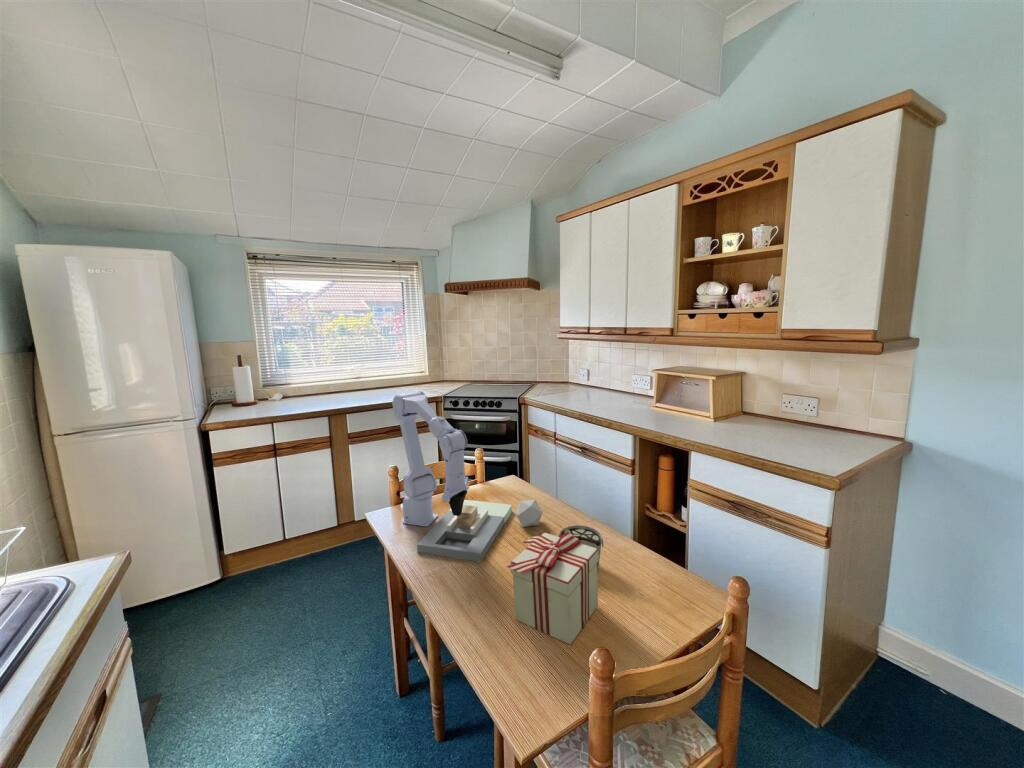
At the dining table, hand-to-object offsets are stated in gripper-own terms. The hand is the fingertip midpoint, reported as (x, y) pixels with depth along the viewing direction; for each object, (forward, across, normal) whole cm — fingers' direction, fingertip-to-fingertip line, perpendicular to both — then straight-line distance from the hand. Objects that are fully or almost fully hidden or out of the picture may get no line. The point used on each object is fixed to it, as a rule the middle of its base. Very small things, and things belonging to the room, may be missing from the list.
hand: (457, 514), depth 127 cm
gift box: (+10, -22, -33) cm, 41 cm away
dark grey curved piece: (+10, -2, -38) cm, 39 cm away
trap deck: (+9, +8, 0) cm, 13 cm away
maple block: (+7, +8, 0) cm, 10 cm away
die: (+10, +16, -18) cm, 26 cm away
